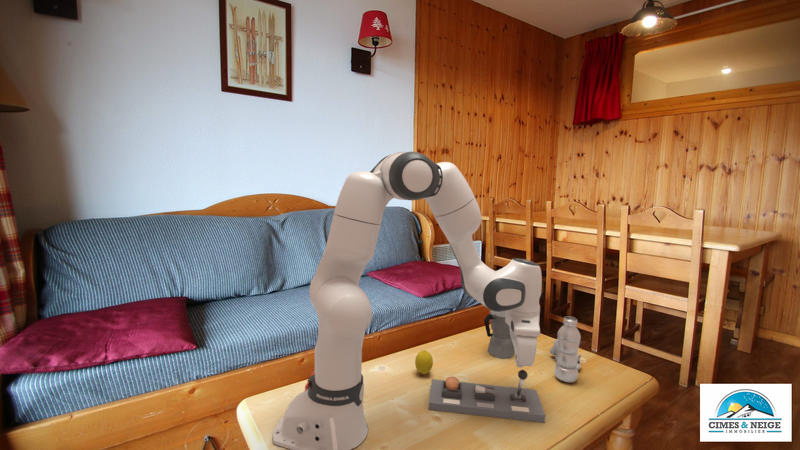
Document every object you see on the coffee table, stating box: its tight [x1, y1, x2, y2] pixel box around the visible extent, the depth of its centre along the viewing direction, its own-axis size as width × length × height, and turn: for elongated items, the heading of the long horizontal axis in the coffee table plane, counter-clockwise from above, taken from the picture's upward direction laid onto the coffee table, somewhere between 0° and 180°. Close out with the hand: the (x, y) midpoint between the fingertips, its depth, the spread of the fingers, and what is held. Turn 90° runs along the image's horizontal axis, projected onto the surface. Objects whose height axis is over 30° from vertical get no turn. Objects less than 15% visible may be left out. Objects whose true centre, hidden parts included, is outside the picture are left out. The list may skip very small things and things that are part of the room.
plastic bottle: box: [554, 315, 582, 384], centre depth 118 cm, size 6×7×20 cm
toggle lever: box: [515, 369, 528, 399], centre depth 102 cm, size 2×2×12 cm
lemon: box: [414, 349, 434, 375], centre depth 121 cm, size 6×6×8 cm
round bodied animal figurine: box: [549, 337, 582, 371], centre depth 129 cm, size 7×12×8 cm, turn 13°
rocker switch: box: [475, 385, 494, 394], centre depth 106 cm, size 5×2×1 cm, turn 82°
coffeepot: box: [483, 310, 515, 360], centre depth 135 cm, size 15×9×18 cm, turn 122°
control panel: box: [428, 378, 546, 424], centre depth 107 cm, size 30×12×4 cm, turn 81°
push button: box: [445, 376, 460, 390], centre depth 107 cm, size 4×4×2 cm
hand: (519, 364), depth 106 cm, fingers closed
